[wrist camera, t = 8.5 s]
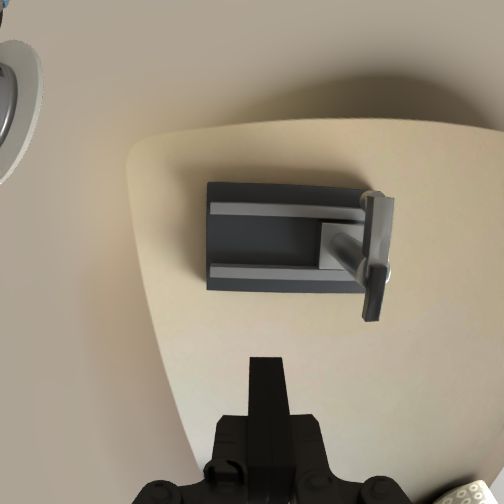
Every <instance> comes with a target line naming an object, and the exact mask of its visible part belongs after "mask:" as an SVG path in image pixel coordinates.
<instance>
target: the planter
mask: <svg viewBox="0 0 504 504" xmlns="http://www.w3.org/2000/svg"><path fill="white" fill-rule="evenodd" d="M432 504H497V502H496V500H495V499H494V497H493V495H492V494H491V492H490V490H489V489H488V487H487V485H486V484H485V482H484V481H482V480H479V481H475V482H472V483H470V484H466V485H462V486H459V487H456V488H454V489H451V490H449V491H448V492H446V493H444V494H443V495H441V496H440V497H439V498H437V499H436V500H435V501H434V502H433V503H432Z"/></svg>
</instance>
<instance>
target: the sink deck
mask: <svg viewBox="0 0 504 504" xmlns="http://www.w3.org/2000/svg"><path fill="white" fill-rule="evenodd" d="M366 191H369V190H361V189H350V188H337V187H323V186H308V185H290V184H267V183H235V182H207V211H206V279H207V290H217V291H244V292H280V293H366V289H365V288H363V287H362V286H361V285H360V284H359V283H358V282H357V281H356V280H355V279H354V278H353V277H352V276H351V275H350V274H349V273H348V272H347V271H346V270H342V269H319V268H318V267H317V266H316V264H315V251H316V237H317V222H318V220H328V221H346V222H359V223H361V224H364V223H365V212H364V211H363V210H362V209H361V207H360V198H361V195H362V194H363V193H364V192H366ZM379 192H380V191H379Z"/></svg>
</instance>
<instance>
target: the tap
mask: <svg viewBox="0 0 504 504" xmlns="http://www.w3.org/2000/svg"><path fill="white" fill-rule="evenodd" d="M360 207H361V209H362V210H363V211H364V212H365V223H364V224H361V223H359V222H346V221H328V220H318V222H317V237H316V251H315V264H316V266H317V267H318V268H319V269H342V270H346V271H347V272H348V273H349V274H350V275H351V276H352V277H353V278H354V279H355V280H356V281H357V282H358V283H359V284H360V285H361V286H362V287H363V288H365V289H366V293H365V300H364V306H363V312H362V318H363V319H364V321H365V322H371V321H379V318H380V313H381V307H382V302H383V296H384V290H385V284H386V282H387V281H388V279H389V276H390V272H391V268H390V264H389V262H388V258H389V251H390V242H391V233H392V223H393V211H394V198H391V197H385V195H384V194H383V193H381V192H379V191H372V190H369V191H366V192H364V193H363V194H362V195H361V198H360Z"/></svg>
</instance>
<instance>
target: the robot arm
mask: <svg viewBox="0 0 504 504" xmlns="http://www.w3.org/2000/svg"><path fill="white" fill-rule="evenodd" d="M9 1H10V0H0V26H1V22H2V16H3V8H5V7H7V5H8V2H9ZM17 97H18V85H17V79H16V75H15V73H14V71H13V69H12V68H11V67H10V66H8V65H6V64H3V63H0V147H1V146H2V144H3V142H4V141H5V139H6V137H7V134H8V132H9V130H10V127H11V124H12V121H13V118H14V114H15V110H16V105H17ZM203 472H204V478H205V479H203V480H202V481H201V482H198V483H196V484H192V485H186V486H177V485H175V484H173V483H171V482H169V481H164V480H157V481H152V482H150V483H148V484H146V485H145V486H144V487H143V488H142V490H141V491H140V493H139V494H138V495H137V497H136V498H135V500H134V501H133V503H132V504H289V503H290V504H413V503H412V502H411V501H410V499H409V498H408V497H407V495H406V494H405V493H404V492H403V490H402V489H401V488H400V486H399V485H398V484H397V483H396V482H395V481H394V480H393V479H392V478H389V477H386V476H374V477H371V478H369V479H367V480H366V481H365V482H364V483H358V482H349V481H344V480H342V479H339V478H338V477H336V476H335V475H334V474H333V473H332V472H331V470H330V468H329V464H328V460H327V455H326V451H325V447H324V443H323V438H322V434H321V430H320V426H319V422H318V421H317V420H316V419H315V417H314V416H313V415H312V414H303V415H290V412H289V404H288V397H287V390H286V383H285V376H284V369H283V362H282V357H250V365H249V401H248V416H234V415H223V416H222V417H221V419H220V420H219V421H218V422H217V426H216V432H215V439H214V446H213V453H212V460H210V461H209V462H208V463H207V464H206V465H205V467H204V470H203Z"/></svg>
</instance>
